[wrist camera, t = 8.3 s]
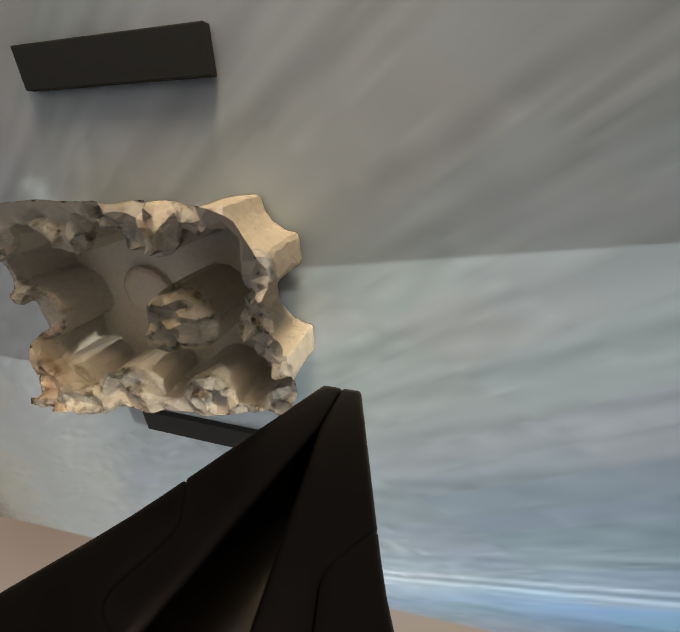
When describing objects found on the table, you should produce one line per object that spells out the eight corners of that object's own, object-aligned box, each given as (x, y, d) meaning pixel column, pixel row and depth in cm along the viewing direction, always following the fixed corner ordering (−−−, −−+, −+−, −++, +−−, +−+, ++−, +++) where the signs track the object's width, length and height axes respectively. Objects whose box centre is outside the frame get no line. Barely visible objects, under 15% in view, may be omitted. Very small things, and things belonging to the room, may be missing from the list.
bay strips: (208, 23, 9) (202, 20, 9) (274, 451, 17) (271, 456, 16) (19, 47, 11) (9, 45, 11) (152, 424, 19) (148, 428, 18)
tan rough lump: (113, 353, 17) (23, 410, 13) (49, 187, 14) (-93, 206, 10) (324, 386, 14) (279, 470, 11) (309, 186, 11) (237, 212, 7)
